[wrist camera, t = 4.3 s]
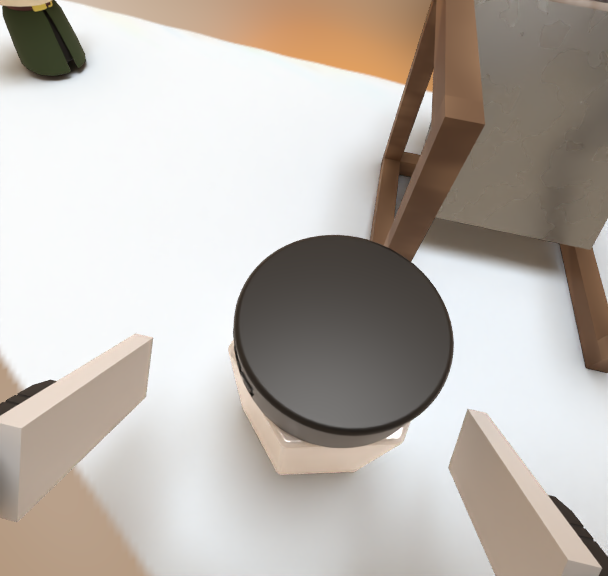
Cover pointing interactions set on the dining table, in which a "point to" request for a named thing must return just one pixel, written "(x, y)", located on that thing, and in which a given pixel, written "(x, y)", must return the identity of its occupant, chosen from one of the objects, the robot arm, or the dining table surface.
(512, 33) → the trapdoor
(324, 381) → the jar
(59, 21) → the character mug
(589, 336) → the trapdoor frame
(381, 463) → the dining table surface
